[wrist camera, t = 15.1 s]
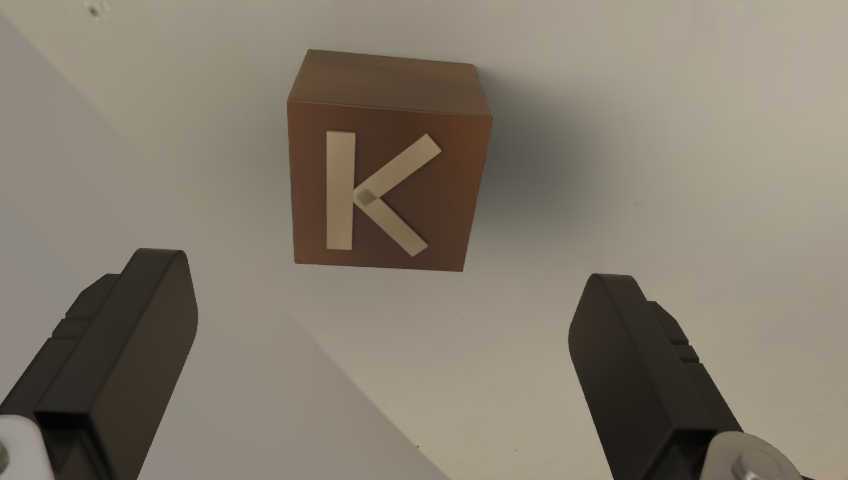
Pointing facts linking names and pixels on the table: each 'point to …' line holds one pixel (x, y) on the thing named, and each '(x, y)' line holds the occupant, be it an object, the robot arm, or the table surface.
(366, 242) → the block
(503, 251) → the table surface
